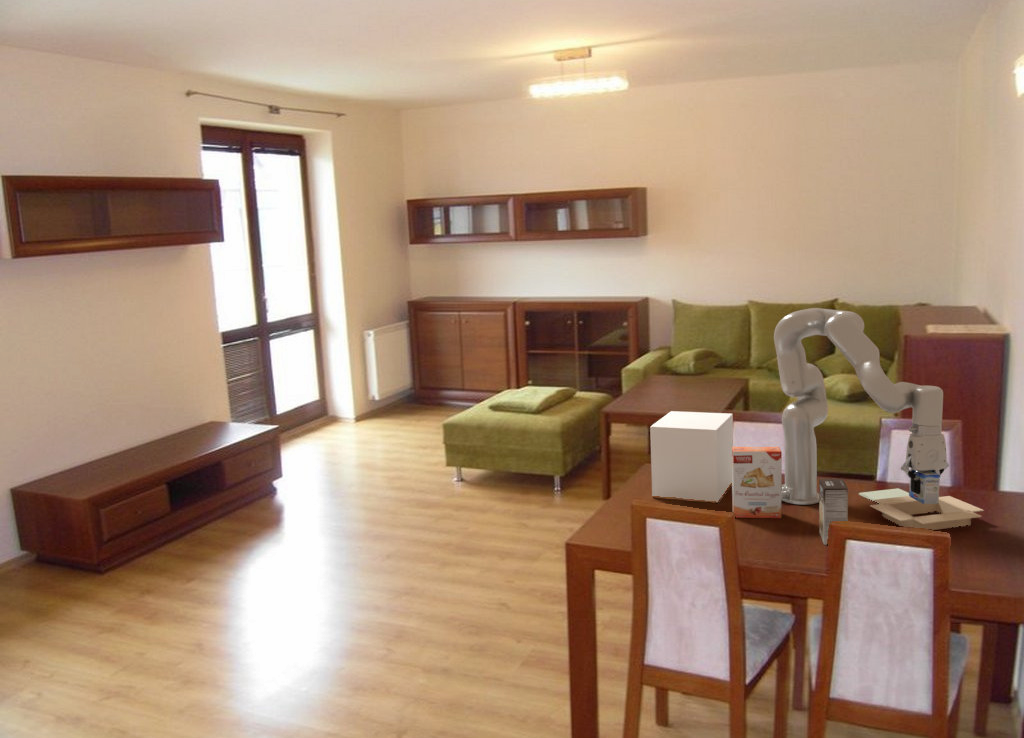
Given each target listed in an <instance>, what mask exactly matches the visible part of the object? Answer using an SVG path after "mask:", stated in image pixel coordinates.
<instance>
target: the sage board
mask: <svg viewBox="0 0 1024 738" xmlns="http://www.w3.org/2000/svg"><path fill="white" fill-rule="evenodd" d="M858 496H861V497H863V498H866V499H867V500H869V499H870V500H869V501H871V500H872V501H871V502H873V501H874V500H877V499H886V498H894V497H903V496H909V491H905V490H903V489H901V488H890V489H882V490H881V489H879V490H873V491H863V492H859V493H858ZM877 503H878V502H877ZM877 503H876V504H877ZM879 504H880V503H879Z"/></svg>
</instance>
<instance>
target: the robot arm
mask: <svg viewBox="0 0 1024 738" xmlns="http://www.w3.org/2000/svg"><path fill="white" fill-rule="evenodd" d="M864 329H865V322H864V320H863V318H862V317H861V316H860V315H859V314H858V313H856V312H853V311H851V310H850V311H848V310H838V309H837V310H836V309H830V308H821V307H810V308H805V309H800V310H795V311H793V312H791V313H788V314H787V315H784V317H783V318H782V319H780V320H779V321H778V323H777V324H776V326H775V329H774V332H773V343H774V347H775V353H776V360H777V368H778V373H779V374H778V375H779V381H780V387H781V390H782V391H783V393H784V394H785V395H786V396H788V397H791V398H796V401H793V402H791V403H790V404H788V405H787V406H785V408H784V410H783V412H782V414H781V424H782V430H783V437H784V438H783V439H784V441H783V442H784V483H783V484H782V483H781V502H785V503H788V504H790V505H791V504H792V505H801V506H802V505H809V506H810V505H815V504H818V503H819V492H818V491H817V486H818V484H817V481H818V479H817V477H818V476H817V475H818V474H817V472H818V471H817V470H818V469H817V467H818V466H817V463H818V462H817V459H818V458H817V457H818V456H817V451H818V450H817V449H818V448H817V438H816V434H815V428H816V427H817V426H819V425H821V424H822V423H824V422H825V421H826V419H827V417H828V414H829V413H828V412H829V407H828V399H827V392H826V385H825V382H824V381H825V379H824V377H823V374H822V372H821V370H820V368H818V367H817V366H816V365H814V364H812V363H808V362H807V357H806V356H807V355H806V350H805V347H804V346H803V344H802V340H803V339H805V338H808V337H813V336H823V337H827V338H828V339H829V340H830V342H831V343H832V344H833V345H834V347H836V348H837V349H838V350H839V352H841V354H842V355H843V356H844V357H845V359H846V360H847V361H848V362H849V363H850V364H851V366H852V367H853V368H854V371H855V374H856V375H857V378H858V380H859V382H860V384H861V387H862V388H863V389H864V392H866V393H867V395H868V396H869V397H870V398H871V399H872V400H873V401H874V403H875V404H876V405H877V406H878V407H880V409H882V410H883V411H885V412H887V413H891V414H892V413H893V414H894V413H899V412H901V411H903V410H905V409H911V408H912V416H911V417H912V420H911V422H912V423H911V426H909V427H908V431H909V432H911V433H909V436H908V441H907V446H906V453H905V454H906V455H905V461H904V463H903V464H902V466H900V470H901V471H902V472H903V473H905V475H907V476H908V478H909V479H910V478H911V491H912V492H914V493H916V494H919V493H920V480H918V479H919V476H920V473H921V471H929V470H930V471H932V472H934V473H937V474H939V475H940V476H942V474H943V473H944V471H945V470H947V469H948V468H949V466H950V463H948V461H947V460H948V459H947V445H946V438H945V434H943V433H942V431H943V430H942V425H943V424H942V423H943V410H944V409H943V408H944V405H943V404H944V391H943V389H942V388H941V387H939V386H935V385H920V384H916V383H911V382H906V381H900V382H899V381H898V382H896V383H894V382H892V380H890V378H889V377H888V376H887V375H886V374H885V372H884V370H883V368H882V366H881V362H880V350H879V348H878V347H877V345H876V344H875V343H873V341H872V340H871V339H870V338H869V337H868V336H867V334H865V333H864ZM915 471H916V472H915Z"/></svg>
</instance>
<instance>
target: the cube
mask: <svg viewBox="0 0 1024 738" xmlns="http://www.w3.org/2000/svg"><path fill="white" fill-rule="evenodd" d="M733 417H734V415H733V413H727V412H723V413H722V412H704V411H703V412H702V411H701V412H699V411H676V410H671V411H669V412H668V413H667V414H665V415H664V416H663V417H661V418H659V419H658V420H657V421H655V422H654V423H653V424H652V425H651V426H650V427H649V432H650V434H649V435H650V437H649V438H650V439H649V440H650V462H651V465H650V466H651V467H650V468H651V497H652V496H660V497H676V498H683V499H694V500H705V501H716V502H718V501H719V499H720V498H721V497H722V495H723V494H724V493H725V491H726V490H727V488H728V487H729V485H730V484H731V483H732V447H734V419H733ZM725 494H726V493H725ZM722 498H723V497H722ZM719 502H720V501H719Z"/></svg>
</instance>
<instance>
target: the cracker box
mask: <svg viewBox="0 0 1024 738" xmlns="http://www.w3.org/2000/svg"><path fill="white" fill-rule="evenodd" d="M782 456H783V455H782V450H781V448H780V446H733V447H732V485H731V497H732V499H731V500H732V501H731V504H732V506H731V507H732V510H731V511H732V513H733V512H734V513H735V514H736V518H735V519H782V500H781V487H782V481H783V479H782V474H783V473H782V463H783V462H782V459H783V457H782Z"/></svg>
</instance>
